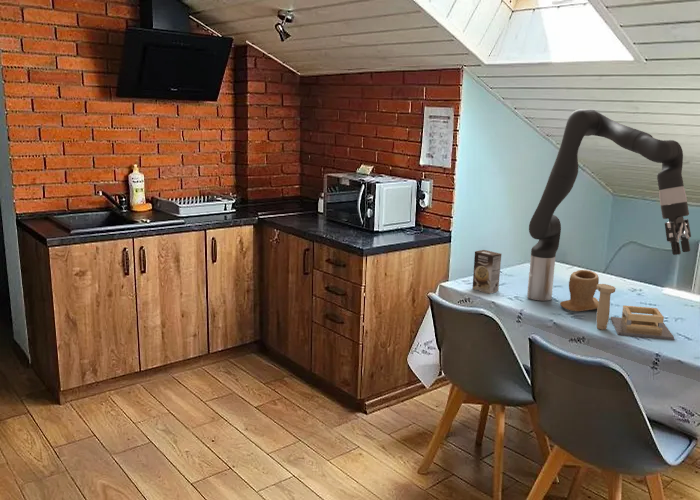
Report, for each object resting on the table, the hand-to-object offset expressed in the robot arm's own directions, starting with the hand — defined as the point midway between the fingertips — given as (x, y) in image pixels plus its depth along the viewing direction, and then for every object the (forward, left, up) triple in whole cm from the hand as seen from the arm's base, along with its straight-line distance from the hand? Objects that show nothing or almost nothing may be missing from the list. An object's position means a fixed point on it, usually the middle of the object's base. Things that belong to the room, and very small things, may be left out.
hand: (681, 253), depth 194 cm
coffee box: (-61, +40, -29) cm, 78 cm away
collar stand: (-7, +8, -29) cm, 31 cm away
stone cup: (-24, +25, -29) cm, 46 cm away
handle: (-20, +5, -29) cm, 36 cm away
